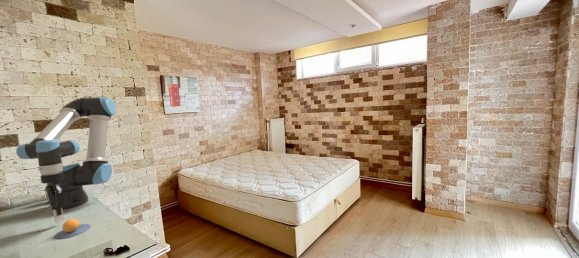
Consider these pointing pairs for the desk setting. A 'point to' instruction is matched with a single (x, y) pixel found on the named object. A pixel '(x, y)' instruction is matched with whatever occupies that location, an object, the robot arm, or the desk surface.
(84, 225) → the disc
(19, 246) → the desk surface
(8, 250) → the desk surface
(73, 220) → the ball
